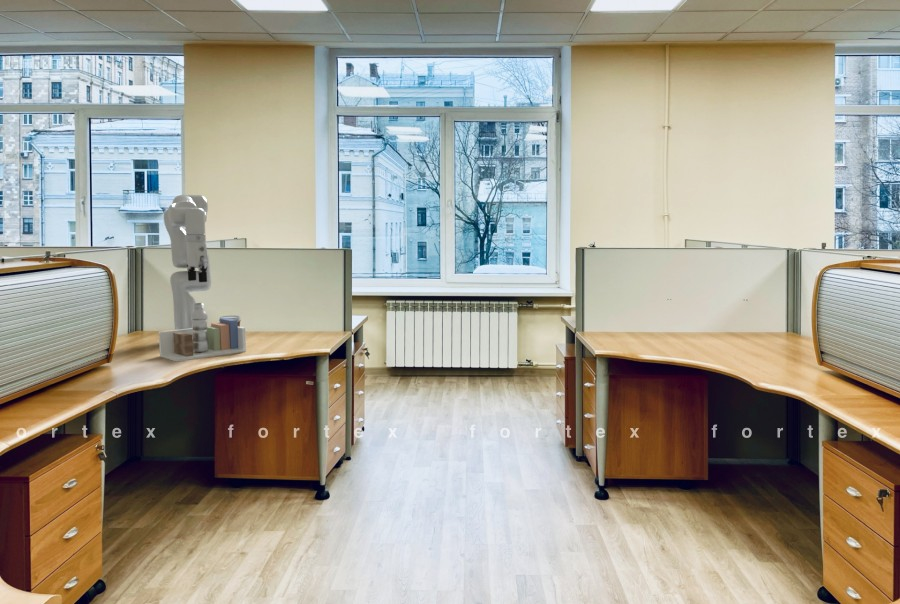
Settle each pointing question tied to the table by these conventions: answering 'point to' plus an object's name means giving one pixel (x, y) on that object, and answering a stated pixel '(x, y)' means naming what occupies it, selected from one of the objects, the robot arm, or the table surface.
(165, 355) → the shelf
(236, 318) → the disposable coffee cup
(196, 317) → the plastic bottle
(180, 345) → the bookend
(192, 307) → the robot arm
